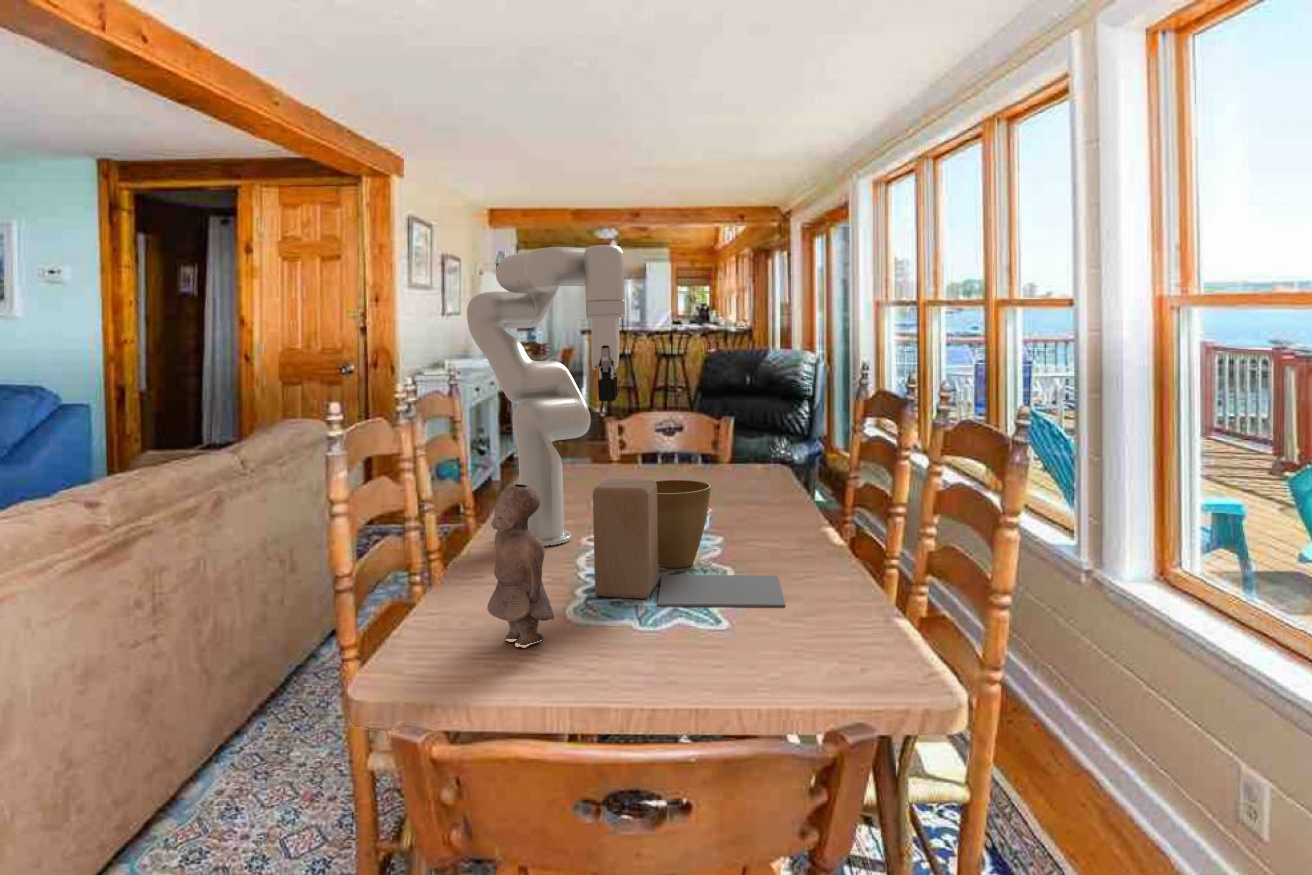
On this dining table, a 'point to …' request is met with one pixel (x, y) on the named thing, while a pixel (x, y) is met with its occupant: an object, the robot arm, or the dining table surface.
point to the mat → (721, 591)
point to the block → (625, 538)
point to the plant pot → (680, 520)
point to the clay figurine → (519, 566)
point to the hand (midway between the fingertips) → (608, 398)
